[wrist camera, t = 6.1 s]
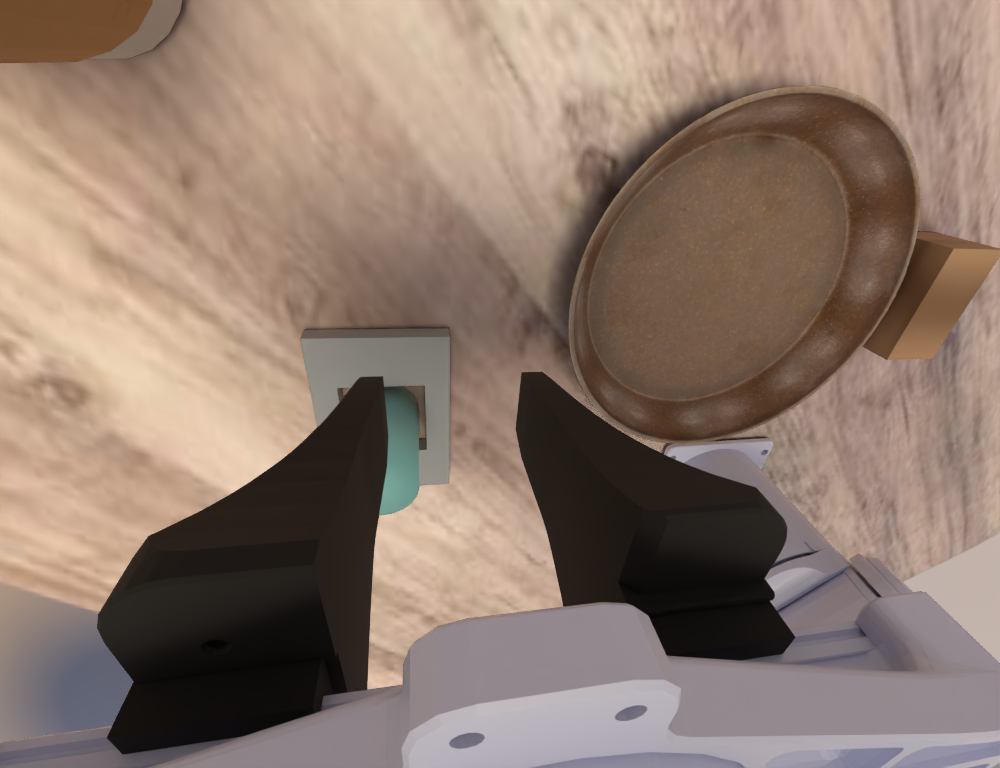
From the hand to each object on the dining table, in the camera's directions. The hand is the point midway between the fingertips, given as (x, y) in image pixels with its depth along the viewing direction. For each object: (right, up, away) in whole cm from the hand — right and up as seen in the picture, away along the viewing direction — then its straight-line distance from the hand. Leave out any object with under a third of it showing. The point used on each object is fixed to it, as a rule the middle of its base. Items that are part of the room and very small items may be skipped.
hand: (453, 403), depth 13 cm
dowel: (-5, -1, +12) cm, 13 cm away
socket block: (-5, -1, +12) cm, 13 cm away
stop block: (+23, +6, +13) cm, 28 cm away
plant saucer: (+13, +6, +12) cm, 18 cm away
